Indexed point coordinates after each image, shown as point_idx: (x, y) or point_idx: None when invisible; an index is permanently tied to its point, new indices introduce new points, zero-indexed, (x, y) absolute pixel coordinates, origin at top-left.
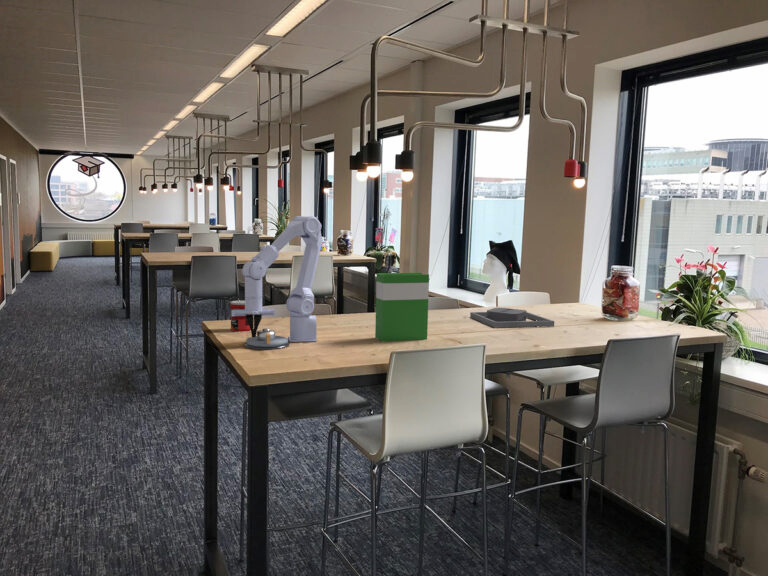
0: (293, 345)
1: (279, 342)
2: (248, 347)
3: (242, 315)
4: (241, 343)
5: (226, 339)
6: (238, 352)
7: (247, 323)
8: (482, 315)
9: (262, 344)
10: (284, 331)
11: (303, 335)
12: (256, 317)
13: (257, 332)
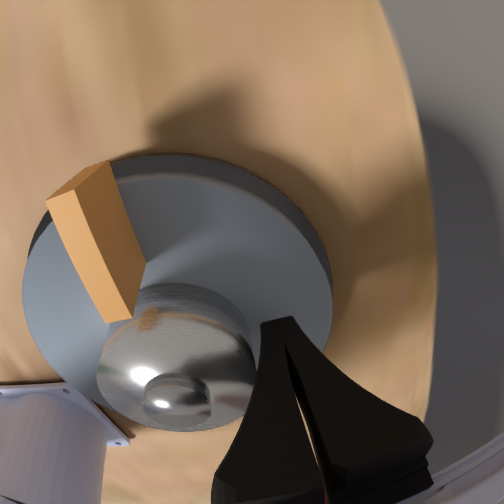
0: (23, 320)
1: (35, 249)
2: (295, 205)
3: (459, 464)
4: (347, 331)
5: (406, 380)
6: (350, 47)
7: (324, 494)
8: None
9: (162, 178)
10: (191, 489)
11: (20, 412)
12: (289, 494)
13: (251, 363)
